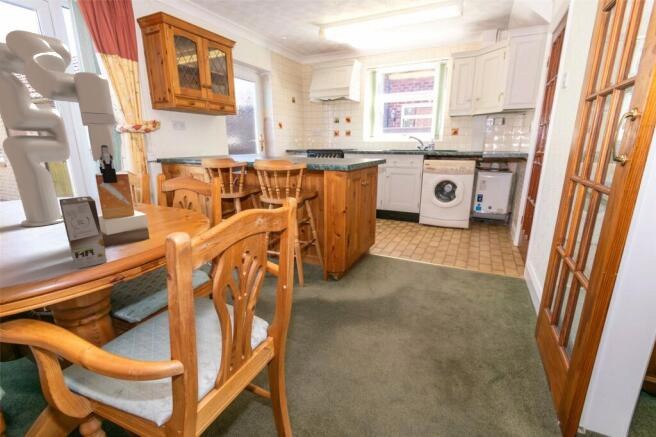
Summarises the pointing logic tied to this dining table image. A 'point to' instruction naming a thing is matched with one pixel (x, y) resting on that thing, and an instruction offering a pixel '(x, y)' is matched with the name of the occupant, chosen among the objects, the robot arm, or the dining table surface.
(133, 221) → the top block
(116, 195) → the small box
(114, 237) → the base block
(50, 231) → the dining table surface
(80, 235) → the coffee box
